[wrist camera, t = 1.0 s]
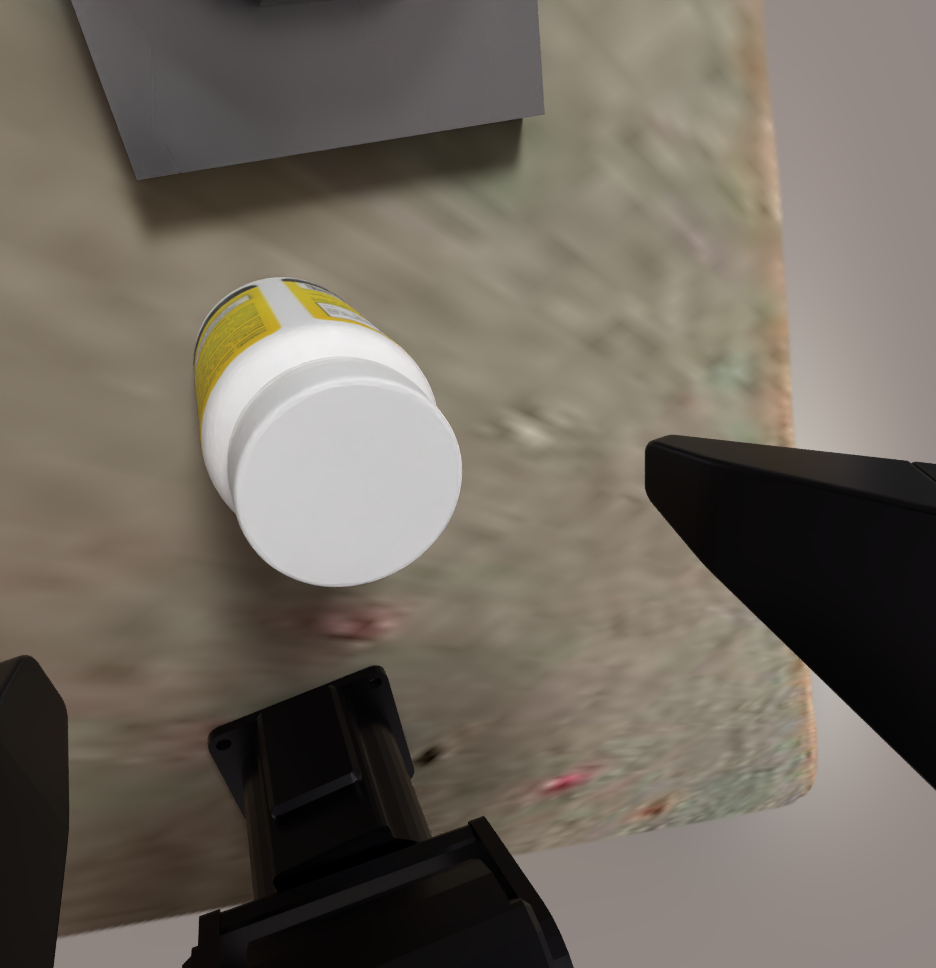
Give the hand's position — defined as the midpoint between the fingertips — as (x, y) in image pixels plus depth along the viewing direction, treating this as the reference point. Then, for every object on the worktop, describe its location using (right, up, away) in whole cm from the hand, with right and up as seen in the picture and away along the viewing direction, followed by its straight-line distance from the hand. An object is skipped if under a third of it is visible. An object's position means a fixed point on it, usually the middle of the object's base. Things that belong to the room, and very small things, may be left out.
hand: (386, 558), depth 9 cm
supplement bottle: (-4, +5, +9) cm, 11 cm away
